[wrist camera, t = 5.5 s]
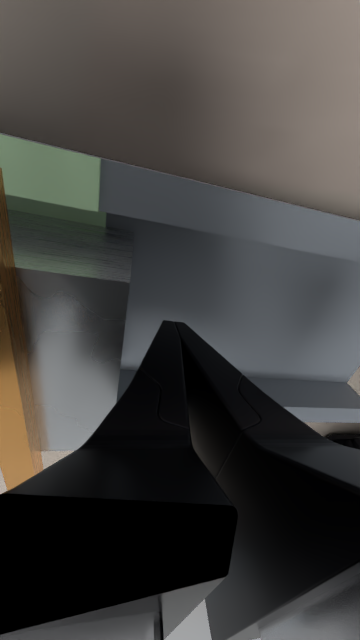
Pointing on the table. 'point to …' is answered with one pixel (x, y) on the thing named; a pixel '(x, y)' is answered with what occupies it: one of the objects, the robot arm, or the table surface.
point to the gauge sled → (57, 333)
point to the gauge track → (216, 270)
